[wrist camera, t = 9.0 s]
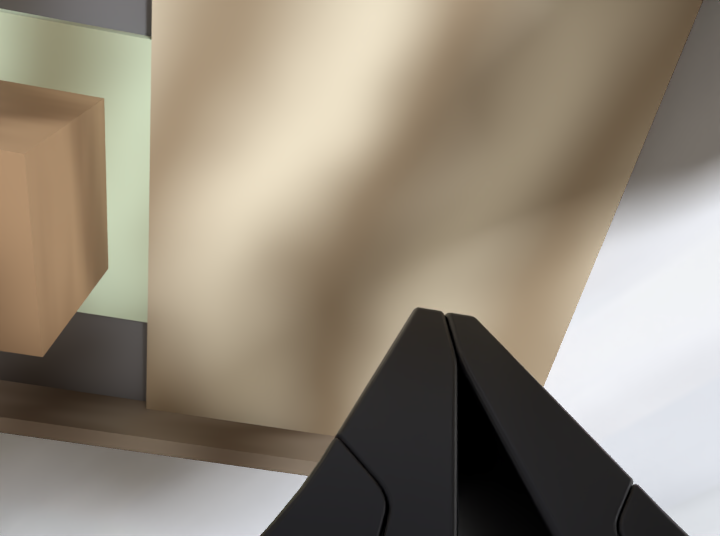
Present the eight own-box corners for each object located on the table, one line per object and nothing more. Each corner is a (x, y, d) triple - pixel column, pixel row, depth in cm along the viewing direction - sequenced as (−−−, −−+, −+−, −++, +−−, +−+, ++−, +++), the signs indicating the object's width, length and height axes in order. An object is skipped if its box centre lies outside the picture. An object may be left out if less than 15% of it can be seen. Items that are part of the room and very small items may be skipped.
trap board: (709, -51, 18) (752, -46, 16) (503, 461, 27) (513, 504, 25) (-115, -222, 16) (-185, -241, 14) (-22, 384, 26) (-55, 424, 24)
